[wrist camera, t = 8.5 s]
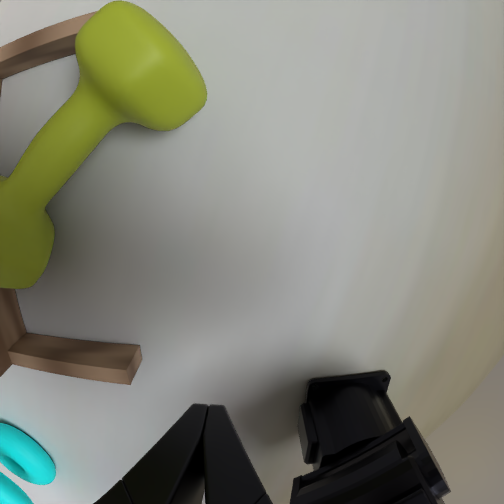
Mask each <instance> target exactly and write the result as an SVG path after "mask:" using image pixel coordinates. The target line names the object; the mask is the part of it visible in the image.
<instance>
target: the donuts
mask: <svg viewBox="0 0 504 504" xmlns="http://www.w3.org/2000/svg"><path fill="white" fill-rule="evenodd" d="M0 462H1V463H2V464H3V465H4V466H5V467H6V468H7V469H8V470H10V471H11V472H12V473H14V474H15V475H17V476H18V477H20V478H21V479H23V480H25V481H28V482H30V483H33V484H37V485H46V484H49V483H51V482H52V481H53V480H54V479H55V476H56V469H55V466H54V464H53V462H52V460H51V458H50V457H49V456H48V454H47V453H46V452H45V451H44V450H43V449H42V448H41V447H40V446H39V445H38V444H37V443H36V442H35V441H34V440H33V439H31V438H30V437H29V436H27V435H26V434H25V433H23V432H22V431H20V430H18V429H16V428H15V427H13V426H10V425H8V424H4V423H0ZM0 504H33V502H32V501H31V499H30V498H29V497H28V496H27V494H26V493H25V492H24V491H23V490H22V489H21V488H20V487H19V486H18V485H16V484H15V483H14V482H13V481H12V480H11V479H9V478H8V477H7V476H5V475H4V474H3V473H1V472H0Z"/></svg>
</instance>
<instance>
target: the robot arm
mask: <svg viewBox="0 0 504 504" xmlns="http://www.w3.org/2000/svg"><path fill="white" fill-rule="evenodd" d="M384 377H385V378H384ZM383 378H384V379H383ZM390 379H391V377H390V375H389V373H388V372H377V373H369V374H361V375H352V376H342V377H332V378H320V379H312V380H310V381H309V382H308V384H307V391H306V399H305V403H303V404H302V405H301V406H300V412H299V420H298V431H299V437H300V442H301V448H302V453H303V459H304V462H305V463H306V464H313V469H314V471H313V472H310V473H308V474H306V475H304V476H302V475H301V476H298V477H296V478H294V480H293V486H292V493H291V499H290V504H445V503H444V501H443V499H442V497H443V496H445V495H446V494H448V493H450V492H451V490H450V488H449V486H448V483H447V481H446V479H445V477H444V474H443V472H442V470H441V468H440V466H439V464H438V462H437V460H436V458H435V457H434V455H433V453H432V451H431V449H430V448H429V446H428V444H427V443H426V441H425V439H424V438H423V436H422V435H421V433H420V431H419V430H418V428H417V427H416V425H415V424H414V422H413V421H412V419H411V418H410V416H409V417H408V418H406V419H405V420H403V423H402V421H401V419H400V417H399V415H398V413H397V411H396V410H395V408H394V406H393V404H392V402H391V400H390V399H389V397H388V395H387V389H388V386H389V382H390ZM313 385H316V386H314V387H312V386H313ZM122 480H123V481H122ZM122 480H119V481H118V482H117V483H116V484H115V485H114V486H113V487H112V488H111V489H110V490H109V491H108V492H107V493H106V494H104V495H103V496H102V497H101V498H100V499H99V500H97V501H96V502H95V503H94V504H201V503H202V499H203V494H204V489H205V503H206V504H273V503H272V502H271V500H270V498H269V496H268V495H267V494H266V491H265V489H264V487H263V485H262V483H261V481H260V479H259V477H258V475H257V473H256V471H255V469H254V467H253V465H252V463H251V461H250V459H249V457H248V455H247V453H246V451H245V449H244V447H243V445H242V443H241V441H240V439H239V436H238V434H237V432H236V430H235V428H234V426H233V424H232V421H231V419H230V417H229V415H228V413H227V410H226V408H225V406H224V405H213V404H211V405H209V406H208V405H207V404H196V403H195V404H192V405H191V407H190V408H189V409H188V410H187V411H186V412H185V413H184V414H183V415H182V416H181V417H180V419H179V420H178V421H177V422H176V423H175V424H174V425H173V426H172V427H171V428H170V429H169V430H168V431H167V432H166V433H165V435H164V436H163V437H162V438H161V439H160V440H159V441H158V442H157V443H156V444H155V445H154V446H153V447H152V448H151V449H150V450H149V451H148V452H147V453H146V454H145V455H144V456H143V457H142V458H141V459H140V460H139V461H138V462H137V463H136V465H135V466H134V467H133V468H132V469H131V470H130V471H129V472H128V473H127V474H126V475H125V476H124V477H123V478H122Z"/></svg>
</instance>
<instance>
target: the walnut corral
mask: <svg viewBox="0 0 504 504" xmlns="http://www.w3.org/2000/svg"><path fill="white" fill-rule="evenodd" d="M96 12H98V11H96ZM96 12H92V13H89V14H85V15H82V16H79V17H75V18H72V19H69V20H66V21H63V22H60V23H57V24H55V25H52V26H49V27H46V28H44V29H41V30H39V31H36V32H34V33H31V34H29V35H26V36H24V37H22V38H19V39H17V40H15V41H13V42H11V43H8V44H6V45H4V46H2V47H0V95H1V85H2V79H4V78H6V77H9V76H11V75H14V74H16V73H19V72H21V71H24V70H27V69H29V68H32V67H35V66H38V65H41V64H43V63H46V62H49V61H53V60H56V59H59V58H62V57H66V56H69V55H73V54H76V51H75V38H76V36H77V34H78V32H79V30H80V29H81V27H82V26H83V25H84V24H85V23H86V22H87V21H88V20H89V19H90V18H91V17H92V16H93V15H94V14H95V13H96ZM141 361H142V355H141V350H140V345H127V344H115V343H104V342H94V341H84V340H75V339H67V338H59V337H52V336H45V335H38V334H31V333H27V332H26V329H25V326H24V323H23V319H22V316H21V312H20V308H19V305H18V301H17V297H16V293H15V289H11V288H0V377H1V376H2V375H3V374H4V372H5V371H6V370H7V369H8V368H9V367H10V366H11V365H12V364H14V365H18V366H22V367H27V368H31V369H35V370H40V371H45V372H50V373H55V374H60V375H65V376H71V377H77V378H83V379H89V380H96V381H103V382H110V383H118V384H127V385H131V382H132V380H133V378H134V376H135V374H136V372H137V370H138V367H139V365H140V363H141Z"/></svg>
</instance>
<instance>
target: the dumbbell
mask: <svg viewBox="0 0 504 504" xmlns="http://www.w3.org/2000/svg"><path fill="white" fill-rule="evenodd" d="M75 51H76V57H77V61H78V65H79V69H80V78H79V83H78V86H77V88H76V90H75V92H74V93H73V95H72V96H71V97H70V98H69V99H68V100H67V102H66V103H65V104H64V105H63V106H62V107H61V108H60V109H59V110H58V111H57V112H56V113H55V114H54V115H53V116H52V117H51V118H50V120H49V121H48V122H47V123H46V124H45V125H44V126H43V127H42V129H41V130H40V131H39V132H38V133H37V135H36V136H35V137H34V139H33V140H32V142H31V143H30V145H29V146H28V148H27V149H26V151H25V153H24V154H23V156H22V157H21V159H20V161H19V163H18V164H17V166H16V168H15V169H14V171H13V173H12V174H11V175H10V177H9V178H7V177H4V176H1V175H0V288H11V289H24V288H29V287H31V286H33V285H34V284H35V283H36V282H37V280H38V279H39V278H40V276H41V275H42V274H43V272H44V270H45V268H46V266H47V264H48V261H49V258H50V255H51V251H52V247H53V242H54V236H55V231H54V226H53V223H52V221H51V219H50V217H49V215H48V214H47V212H46V210H45V206H46V205H47V203H48V202H49V201H50V200H51V199H52V198H53V197H54V195H55V194H56V193H57V192H58V191H59V190H60V189H61V187H62V186H63V185H64V184H65V183H66V181H67V180H68V179H69V178H70V177H71V176H72V175H73V173H74V172H75V171H76V170H77V169H78V168H79V166H80V165H81V164H82V163H83V161H84V160H85V159H86V158H87V157H88V156H89V154H90V153H91V152H92V151H93V150H94V149H95V147H96V146H97V145H98V144H99V142H100V141H101V140H102V139H103V138H104V136H105V135H106V134H107V133H108V132H109V131H110V130H111V129H113V128H114V127H115V126H117V125H119V124H122V123H125V122H133V123H137V124H140V125H142V126H144V127H147V128H149V129H153V130H158V131H170V130H173V129H176V128H178V127H179V126H181V125H183V124H184V123H185V122H186V121H188V120H189V119H190V118H191V117H193V116H194V115H195V114H196V113H197V112H198V111H200V110H201V108H202V107H203V106H204V105H205V102H206V100H207V90H206V85H205V83H204V80H203V78H202V76H201V74H200V72H199V70H198V68H197V67H196V65H195V63H194V62H193V60H192V59H191V57H190V56H189V54H188V53H187V51H186V50H185V49H184V48H183V46H182V45H181V44H180V43H179V42H178V40H177V39H176V38H175V37H174V36H173V35H172V34H171V33H170V32H169V31H168V30H167V29H166V28H165V27H164V26H163V25H162V24H161V23H160V22H159V21H157V20H156V19H155V18H154V17H153V16H152V15H150V14H149V13H148V12H146V11H145V10H144V9H142V8H140V7H139V6H137V5H135V4H133V3H130V2H126V1H113V2H110V3H108V4H106V5H105V6H104V7H102V8H101V9H100V10H99V11H98V12H96V13H95V14H94V15H93V16H92V17H91V18H90V19H89V20H88V21H87V22H86V23H85V24H84V25H83V26H82V27H81V29H80V30H79V32H78V34H77V36H76V38H75Z"/></svg>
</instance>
